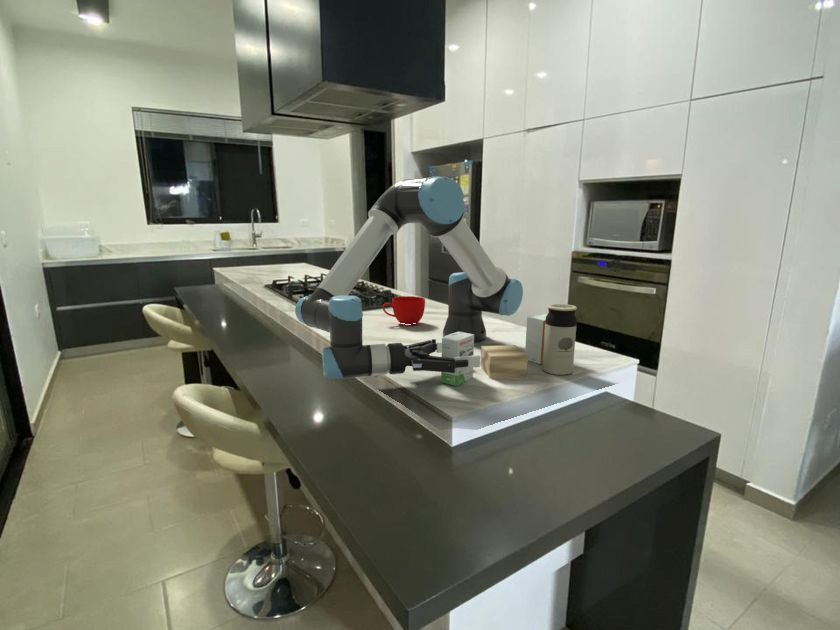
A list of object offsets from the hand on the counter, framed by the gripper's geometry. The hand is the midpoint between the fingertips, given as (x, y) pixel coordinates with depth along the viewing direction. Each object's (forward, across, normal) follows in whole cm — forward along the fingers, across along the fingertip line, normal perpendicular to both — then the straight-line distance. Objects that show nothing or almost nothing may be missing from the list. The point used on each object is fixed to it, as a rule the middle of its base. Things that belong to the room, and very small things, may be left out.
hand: (469, 353), depth 114 cm
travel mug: (+26, 0, -7) cm, 27 cm away
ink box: (-3, 0, -7) cm, 8 cm away
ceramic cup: (-2, -65, -7) cm, 65 cm away
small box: (+27, -10, -7) cm, 29 cm away
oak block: (+11, -4, -7) cm, 14 cm away
